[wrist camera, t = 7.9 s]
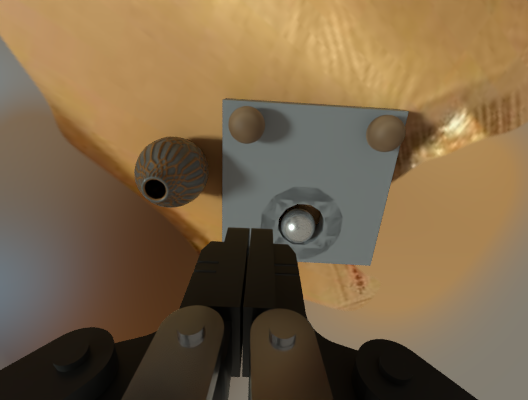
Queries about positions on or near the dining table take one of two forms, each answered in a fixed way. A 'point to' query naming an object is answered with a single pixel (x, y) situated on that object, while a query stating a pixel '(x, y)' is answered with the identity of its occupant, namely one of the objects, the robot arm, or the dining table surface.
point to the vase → (171, 172)
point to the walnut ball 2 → (385, 133)
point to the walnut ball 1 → (246, 124)
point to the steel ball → (297, 225)
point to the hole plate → (309, 176)
